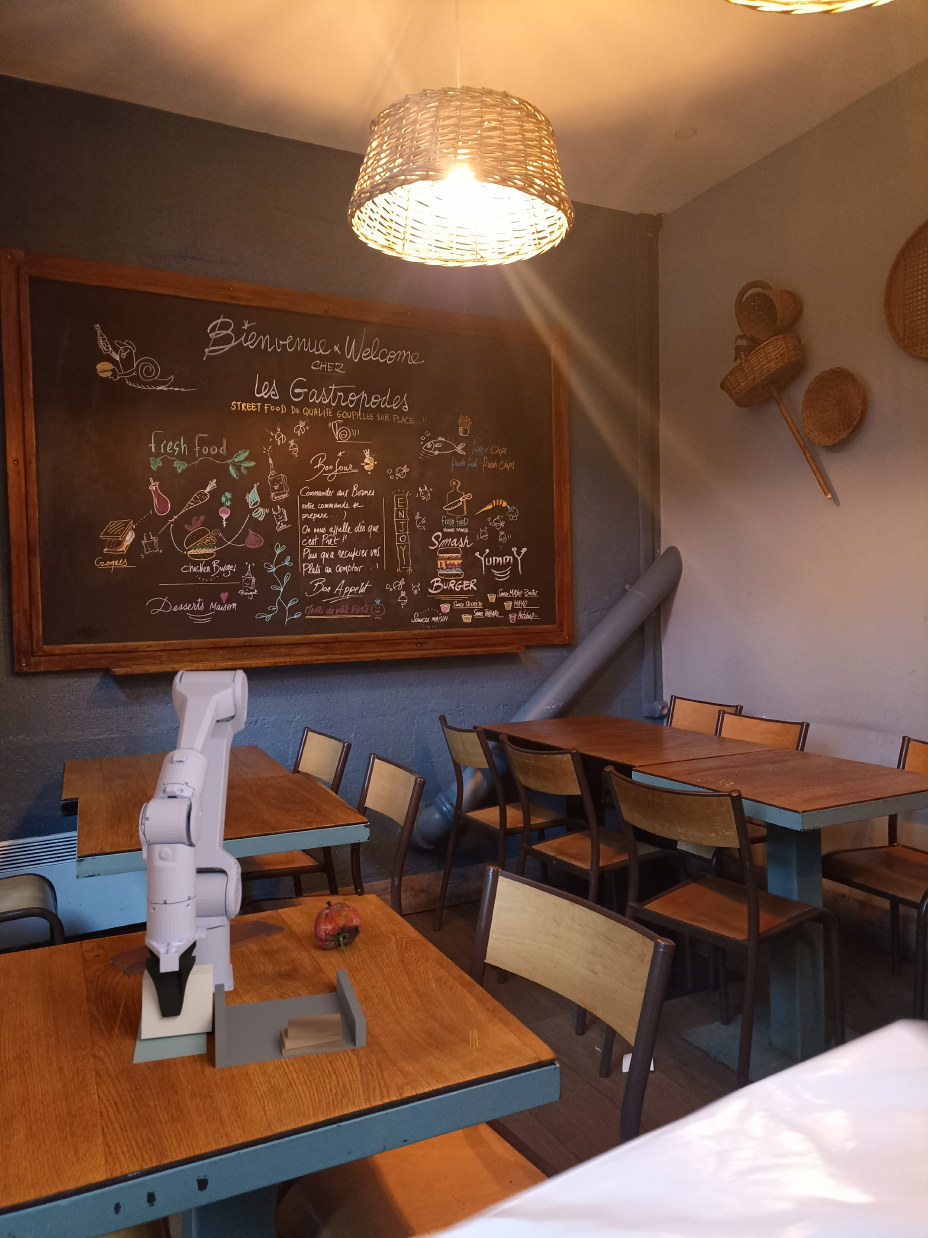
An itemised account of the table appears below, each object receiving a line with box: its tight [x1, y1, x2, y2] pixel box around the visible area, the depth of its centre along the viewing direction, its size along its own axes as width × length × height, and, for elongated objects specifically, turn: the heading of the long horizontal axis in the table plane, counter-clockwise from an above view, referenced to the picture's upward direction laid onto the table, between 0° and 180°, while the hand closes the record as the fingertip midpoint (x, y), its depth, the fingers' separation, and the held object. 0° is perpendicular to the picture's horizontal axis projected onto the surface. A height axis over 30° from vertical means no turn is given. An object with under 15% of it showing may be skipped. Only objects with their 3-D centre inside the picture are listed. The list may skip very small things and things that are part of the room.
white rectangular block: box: [141, 964, 214, 1039], centre depth 104 cm, size 3×8×7 cm, turn 107°
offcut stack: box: [280, 1014, 345, 1056], centre depth 101 cm, size 4×7×2 cm, turn 107°
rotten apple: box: [313, 900, 363, 954], centre depth 133 cm, size 7×7×10 cm
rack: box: [214, 968, 367, 1069], centre depth 106 cm, size 16×17×4 cm
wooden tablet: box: [109, 919, 286, 977], centre depth 134 cm, size 27×10×2 cm, turn 136°
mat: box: [132, 1015, 208, 1064], centre depth 104 cm, size 12×8×1 cm, turn 17°
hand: (172, 1009), depth 104 cm, fingers closed on white rectangular block, 3 cm apart
